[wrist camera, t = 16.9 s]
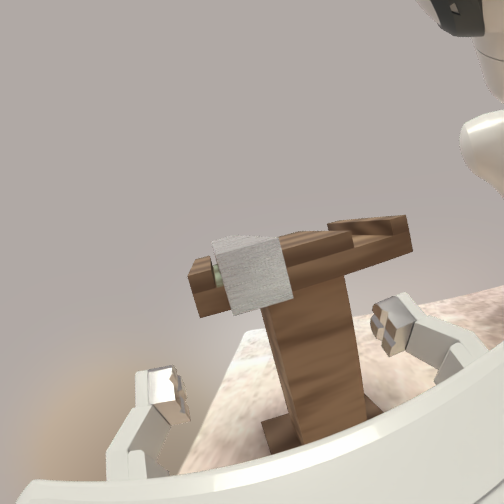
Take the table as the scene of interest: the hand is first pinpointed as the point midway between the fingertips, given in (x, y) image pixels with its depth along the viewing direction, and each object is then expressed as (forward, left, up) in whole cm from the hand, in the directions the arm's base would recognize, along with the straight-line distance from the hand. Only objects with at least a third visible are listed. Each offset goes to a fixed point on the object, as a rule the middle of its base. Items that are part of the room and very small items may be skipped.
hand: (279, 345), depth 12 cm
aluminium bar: (+8, -14, +1) cm, 16 cm away
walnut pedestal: (+5, -22, -25) cm, 34 cm away
